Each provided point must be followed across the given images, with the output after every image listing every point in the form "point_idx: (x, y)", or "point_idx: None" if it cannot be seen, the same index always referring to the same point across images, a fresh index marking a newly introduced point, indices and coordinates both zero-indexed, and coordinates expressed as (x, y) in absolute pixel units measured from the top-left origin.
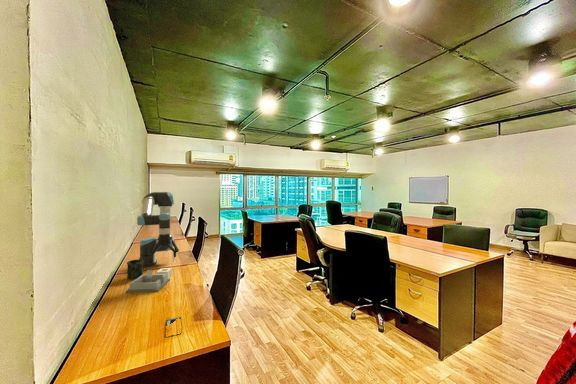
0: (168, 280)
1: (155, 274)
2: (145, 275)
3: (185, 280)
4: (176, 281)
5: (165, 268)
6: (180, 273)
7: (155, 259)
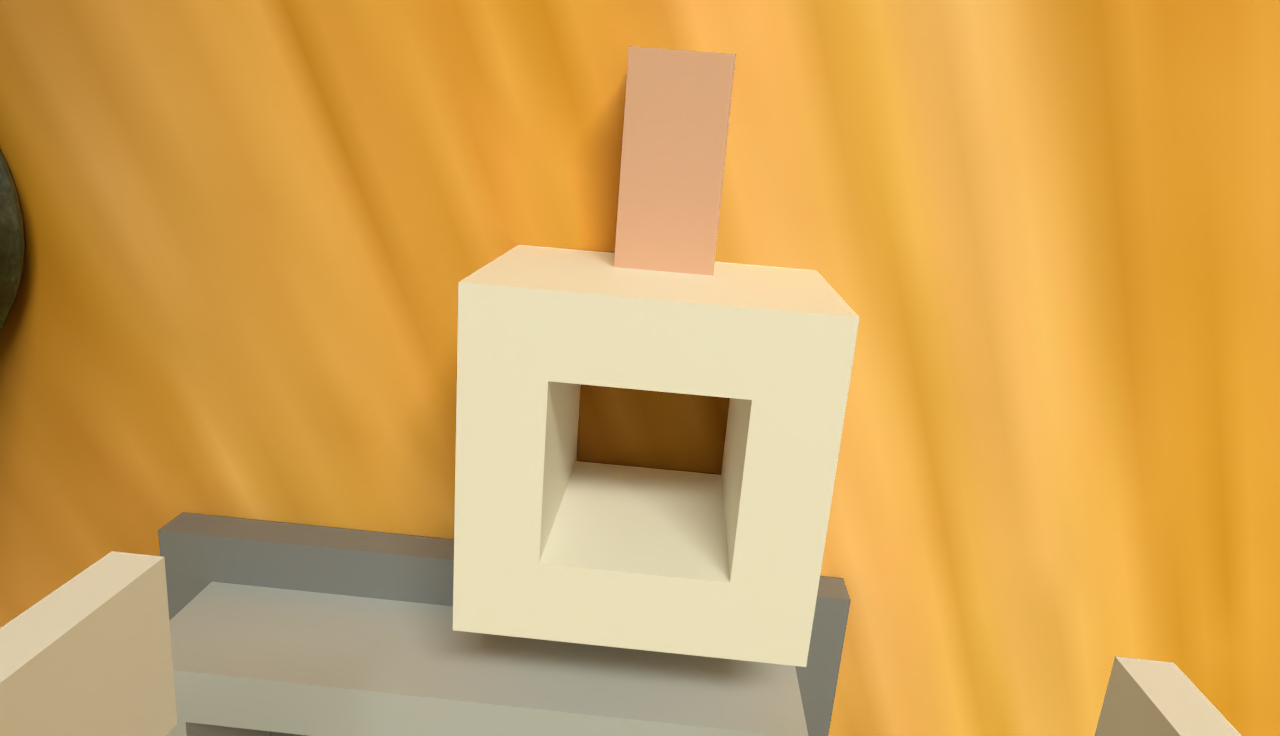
0: (833, 679)
1: (485, 721)
2: (236, 723)
3: (1226, 662)
4: (1015, 683)
5: (627, 314)
6: (1038, 86)
7: (77, 726)
